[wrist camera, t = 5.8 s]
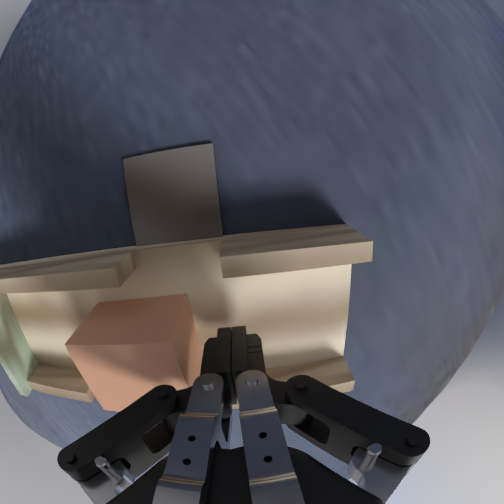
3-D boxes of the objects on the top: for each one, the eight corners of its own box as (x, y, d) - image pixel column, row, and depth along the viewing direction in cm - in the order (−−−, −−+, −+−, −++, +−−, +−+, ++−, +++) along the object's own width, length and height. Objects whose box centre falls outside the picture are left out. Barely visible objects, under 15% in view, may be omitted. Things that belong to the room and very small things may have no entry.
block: (97, 302, 15) (64, 344, 10) (186, 293, 15) (171, 342, 10) (124, 363, 16) (104, 409, 12) (205, 360, 16) (199, 413, 12)
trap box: (-14, 205, 13) (-52, 219, 8) (342, 136, 13) (382, 129, 9) (64, 400, 19) (49, 430, 15) (331, 399, 20) (345, 439, 16)
